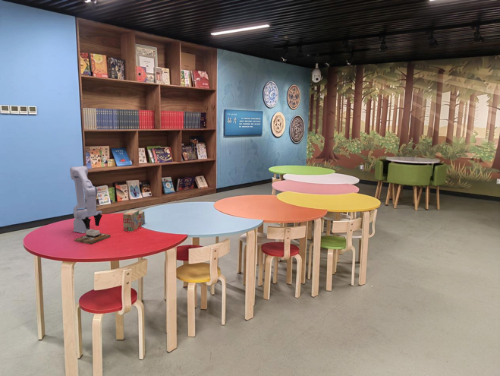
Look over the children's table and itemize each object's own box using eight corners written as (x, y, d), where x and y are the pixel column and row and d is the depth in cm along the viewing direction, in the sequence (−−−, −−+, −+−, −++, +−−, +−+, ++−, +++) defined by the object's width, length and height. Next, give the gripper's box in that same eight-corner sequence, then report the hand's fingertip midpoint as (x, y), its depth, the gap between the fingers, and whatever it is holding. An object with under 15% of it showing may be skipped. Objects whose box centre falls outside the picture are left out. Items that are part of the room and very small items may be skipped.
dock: (74, 241, 237) (74, 237, 237) (94, 234, 252) (93, 230, 251) (91, 244, 232) (91, 240, 231) (110, 237, 246) (110, 233, 246)
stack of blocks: (137, 222, 280) (136, 206, 278) (145, 223, 279) (144, 207, 277) (123, 231, 259) (122, 213, 257) (132, 231, 259) (131, 214, 256)
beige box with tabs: (84, 236, 241) (84, 230, 240) (90, 234, 245) (89, 228, 244) (94, 238, 238) (94, 232, 237) (99, 236, 242) (99, 230, 241)
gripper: (87, 209, 229) (88, 231, 232) (104, 204, 243) (106, 225, 245) (78, 208, 232) (79, 229, 235) (96, 203, 245) (97, 223, 248)
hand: (92, 227), depth 240 cm, fingers open, 7 cm apart
